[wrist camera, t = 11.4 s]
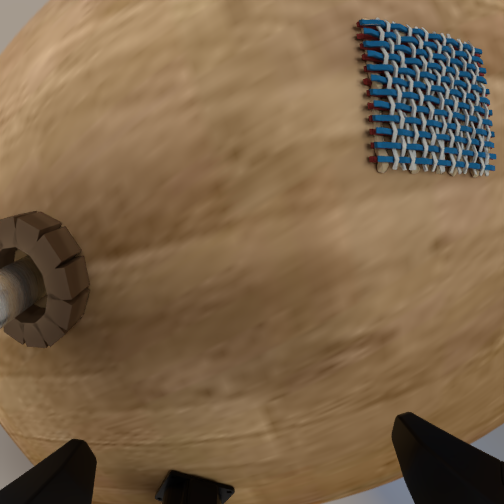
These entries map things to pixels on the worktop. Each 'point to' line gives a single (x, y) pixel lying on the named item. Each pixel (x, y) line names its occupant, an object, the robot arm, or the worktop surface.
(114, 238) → the worktop surface
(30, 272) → the grey cylinder
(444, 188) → the worktop surface
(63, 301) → the walnut gear
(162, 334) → the worktop surface
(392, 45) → the woven mat
